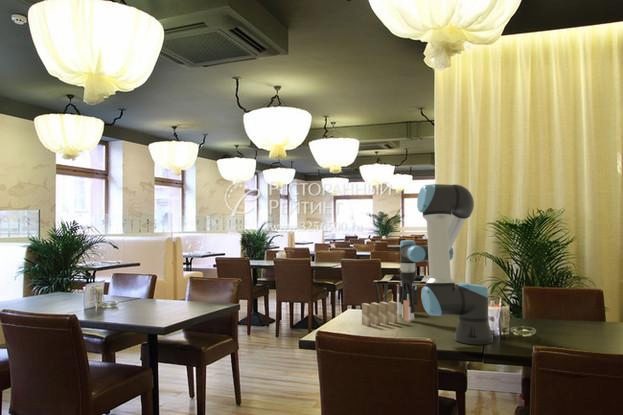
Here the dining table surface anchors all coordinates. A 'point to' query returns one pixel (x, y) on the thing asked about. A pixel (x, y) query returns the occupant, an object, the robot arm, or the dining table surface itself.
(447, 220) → the robot arm
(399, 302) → the small box
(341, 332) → the dining table surface
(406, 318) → the domino
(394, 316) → the domino
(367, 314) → the domino
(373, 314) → the domino
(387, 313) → the domino
